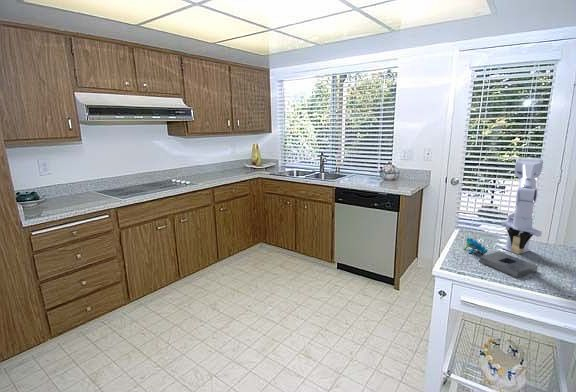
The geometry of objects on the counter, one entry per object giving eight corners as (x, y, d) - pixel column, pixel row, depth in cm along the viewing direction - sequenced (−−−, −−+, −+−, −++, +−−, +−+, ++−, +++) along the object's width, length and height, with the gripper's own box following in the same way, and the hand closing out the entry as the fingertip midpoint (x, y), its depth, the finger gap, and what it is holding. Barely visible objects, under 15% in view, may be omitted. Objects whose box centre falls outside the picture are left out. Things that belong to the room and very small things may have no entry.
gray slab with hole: (498, 256, 143) (499, 251, 143) (536, 271, 129) (537, 265, 128) (479, 261, 138) (479, 256, 138) (516, 277, 124) (517, 272, 124)
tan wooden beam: (517, 249, 134) (519, 234, 132) (523, 252, 132) (526, 236, 130) (510, 251, 132) (513, 236, 131) (517, 253, 130) (520, 238, 128)
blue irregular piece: (492, 253, 143) (479, 239, 141) (484, 263, 143) (470, 249, 141) (475, 247, 154) (462, 234, 152) (467, 256, 154) (454, 243, 152)
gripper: (498, 213, 133) (494, 242, 136) (536, 222, 120) (530, 255, 123) (509, 211, 136) (504, 240, 139) (547, 220, 123) (541, 252, 126)
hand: (517, 247), depth 131 cm, fingers closed on tan wooden beam, 3 cm apart
